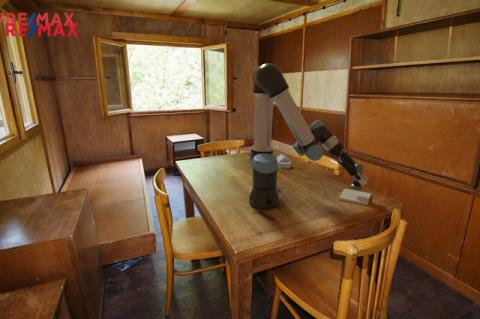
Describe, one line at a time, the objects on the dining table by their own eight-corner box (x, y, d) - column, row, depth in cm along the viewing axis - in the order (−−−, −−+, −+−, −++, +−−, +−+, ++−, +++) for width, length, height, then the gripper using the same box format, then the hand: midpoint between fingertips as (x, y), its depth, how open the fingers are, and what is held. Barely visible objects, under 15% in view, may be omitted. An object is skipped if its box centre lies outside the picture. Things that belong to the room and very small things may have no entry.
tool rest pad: (367, 205, 128) (367, 203, 128) (338, 199, 134) (339, 197, 134) (370, 195, 139) (371, 193, 138) (344, 190, 145) (344, 188, 145)
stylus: (362, 190, 131) (365, 167, 127) (348, 188, 134) (350, 165, 131) (364, 186, 136) (367, 163, 132) (350, 184, 139) (353, 162, 136)
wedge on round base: (274, 163, 194) (279, 168, 182) (275, 154, 192) (280, 159, 180) (287, 162, 195) (292, 168, 183) (287, 153, 194) (293, 158, 181)
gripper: (335, 145, 127) (369, 184, 123) (342, 138, 141) (374, 173, 137) (323, 154, 131) (356, 192, 127) (331, 147, 145) (361, 181, 141)
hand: (365, 182), depth 132 cm, fingers closed on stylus, 4 cm apart
